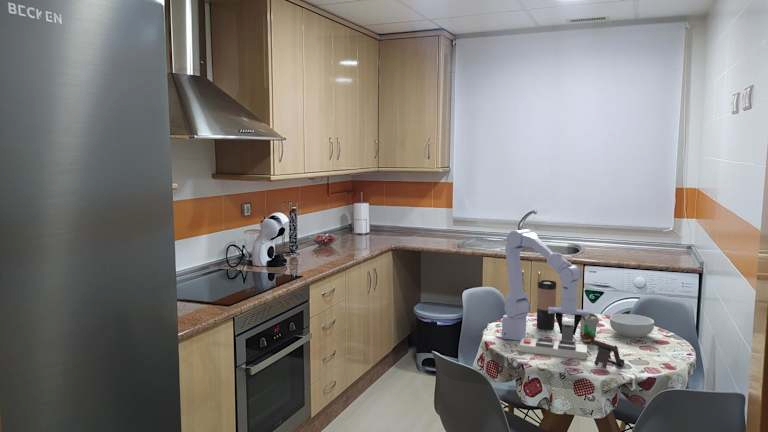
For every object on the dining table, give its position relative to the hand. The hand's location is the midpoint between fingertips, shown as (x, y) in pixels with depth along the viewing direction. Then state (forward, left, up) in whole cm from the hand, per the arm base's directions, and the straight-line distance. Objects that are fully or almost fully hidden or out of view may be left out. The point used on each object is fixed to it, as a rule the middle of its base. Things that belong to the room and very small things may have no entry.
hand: (567, 333), depth 222 cm
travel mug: (-10, +30, -8) cm, 33 cm away
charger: (0, 0, -2) cm, 2 cm away
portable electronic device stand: (+14, -7, -8) cm, 17 cm away
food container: (+8, +19, -8) cm, 22 cm away
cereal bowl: (+24, +32, -8) cm, 41 cm away
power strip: (-5, 0, -7) cm, 9 cm away
